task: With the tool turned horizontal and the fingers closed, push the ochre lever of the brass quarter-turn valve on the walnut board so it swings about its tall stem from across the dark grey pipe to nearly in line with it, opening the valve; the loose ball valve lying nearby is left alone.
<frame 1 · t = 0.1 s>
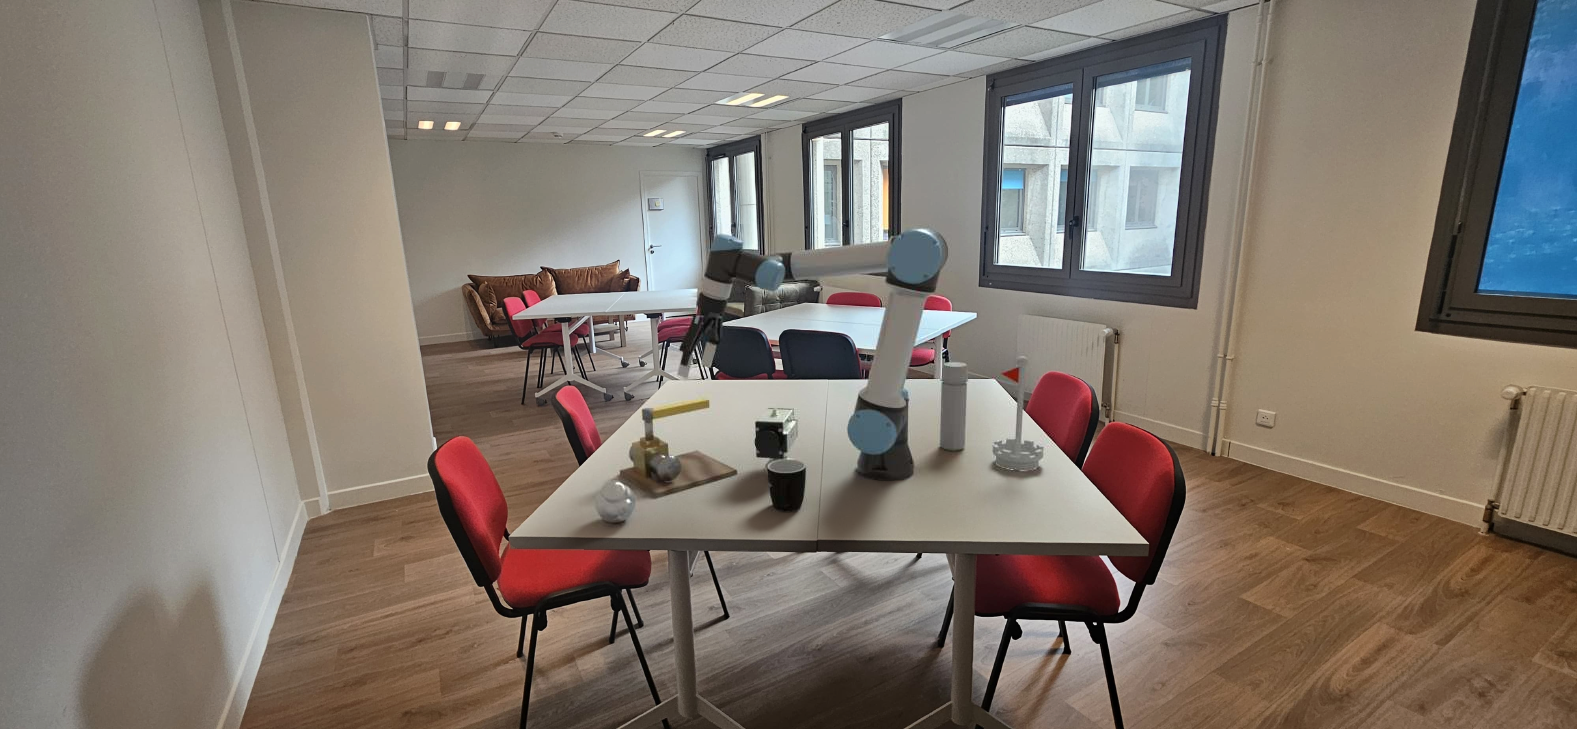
hand: (694, 370, 176), 28 cm above the table, tool tilted 20°, fingers open, 13 cm apart
water bottle: (952, 447, 196), on the table
mug: (786, 509, 155), on the table
walnut board: (652, 476, 177), on the table
valve lever: (675, 408, 179), point 17 cm above the table, hinge at 0.0°
round lidded jar: (616, 522, 150), on the table
flag stand: (1016, 464, 181), on the table
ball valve: (778, 473, 178), on the table
valve body: (653, 448, 174), on the walnut board, point 8 cm above the table
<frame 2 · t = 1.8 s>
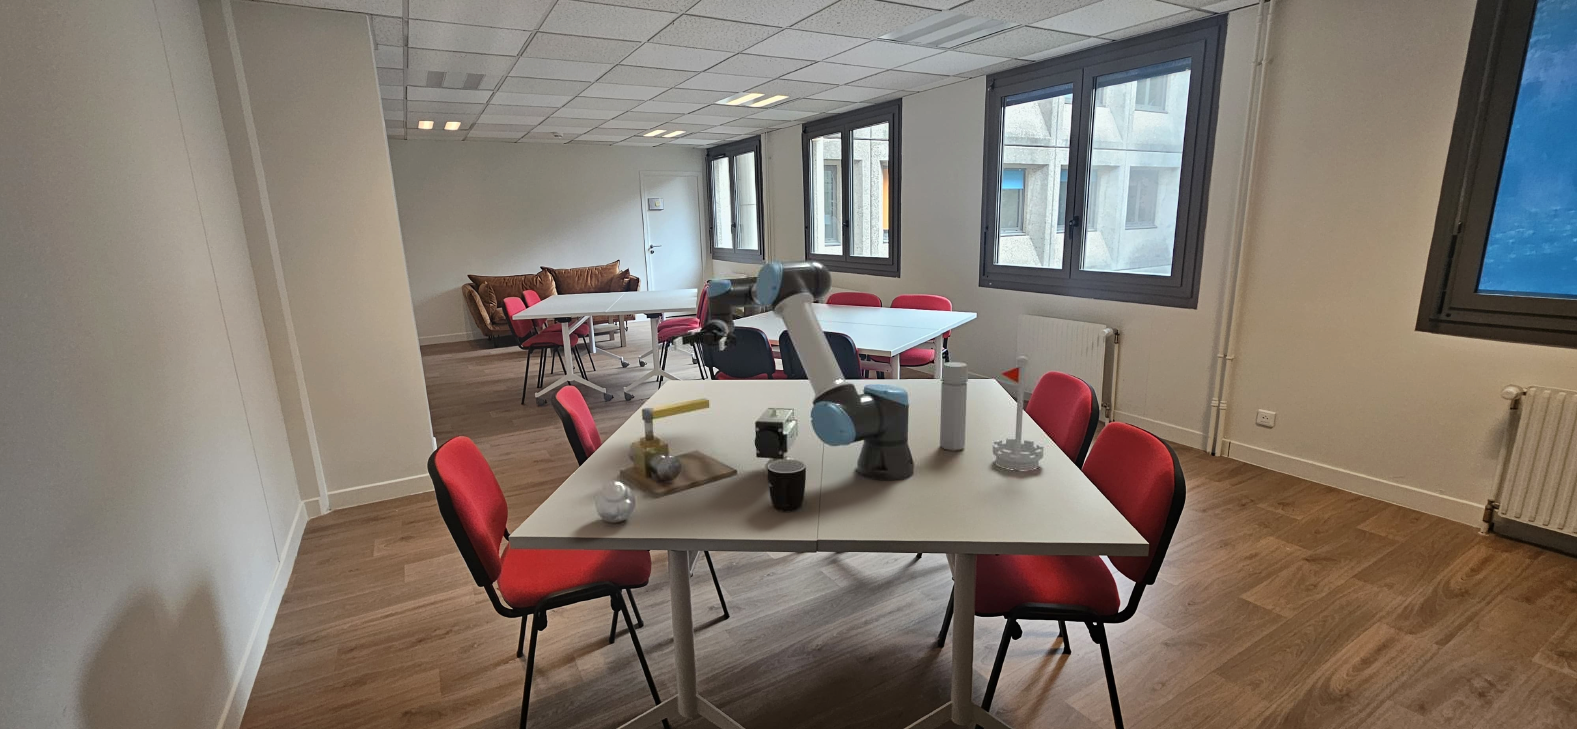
hand: (697, 345, 187), 32 cm above the table, tool horizontal, fingers open, 12 cm apart
nothing on the table moved.
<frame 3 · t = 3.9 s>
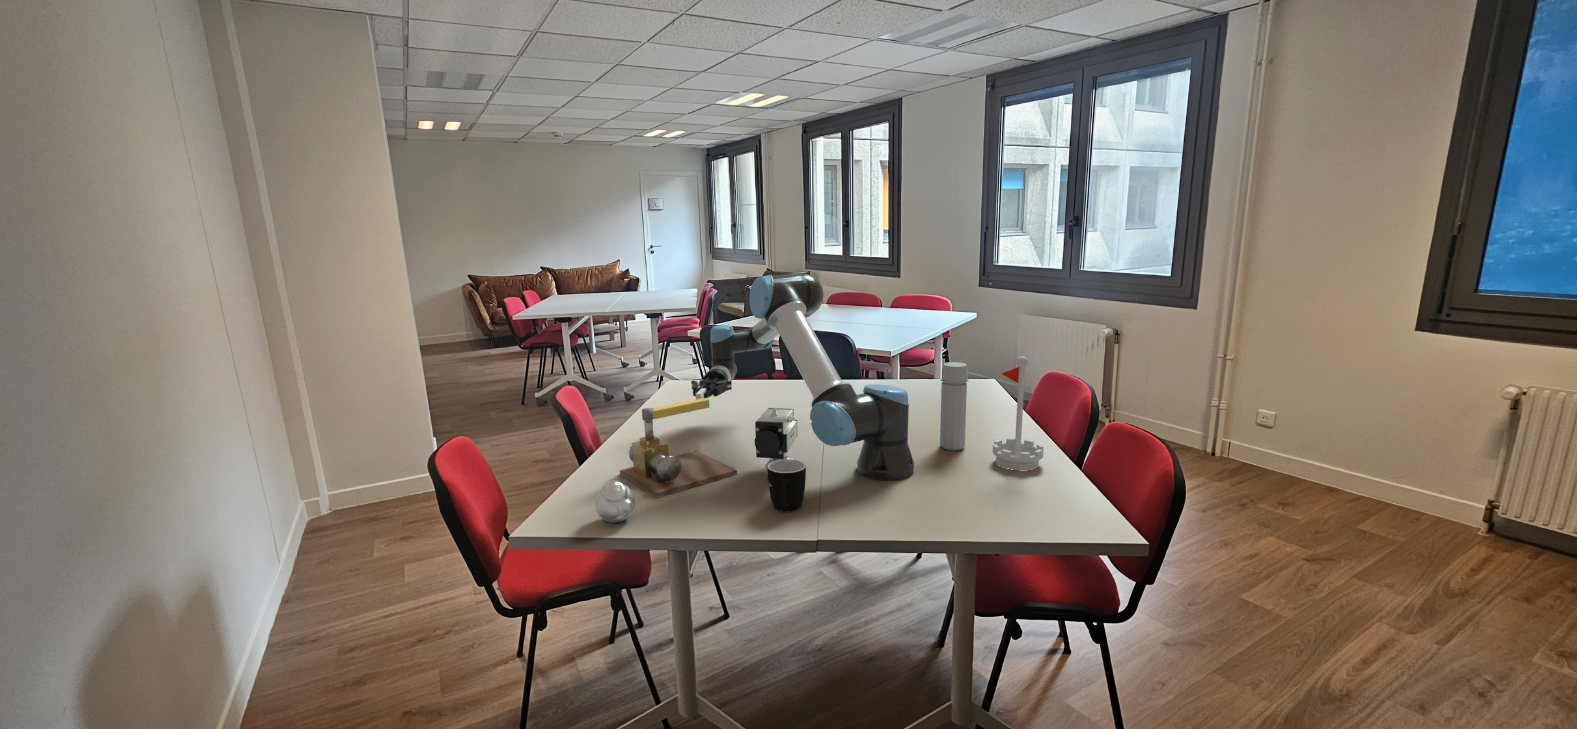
hand: (698, 398, 189), 17 cm above the table, tool horizontal, fingers closed
nothing on the table moved.
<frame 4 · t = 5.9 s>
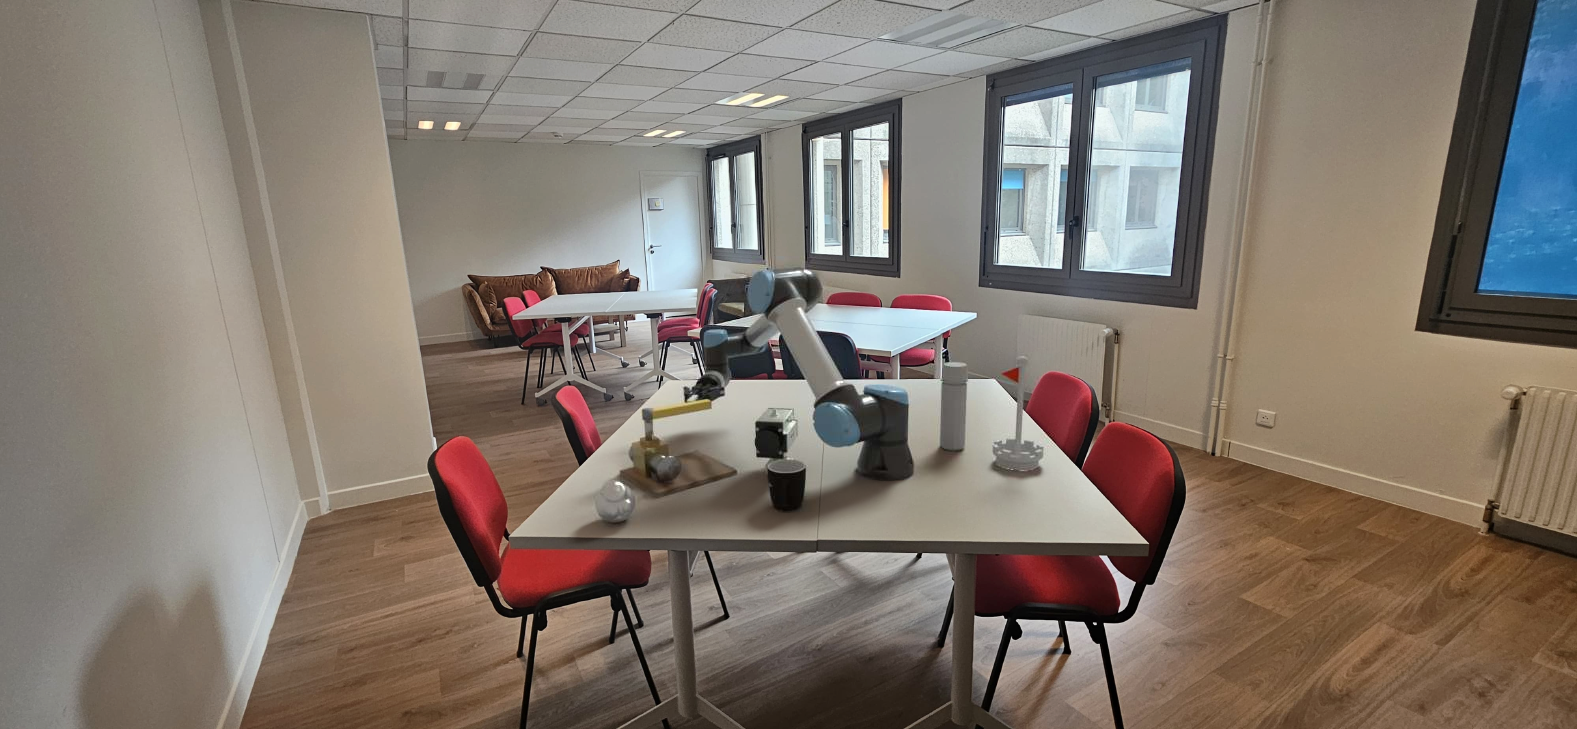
hand: (689, 405, 183), 17 cm above the table, tool horizontal, fingers closed
valve lever: (676, 409, 178), point 17 cm above the table, hinge at 4.7°, touching gripper
everything else where it was.
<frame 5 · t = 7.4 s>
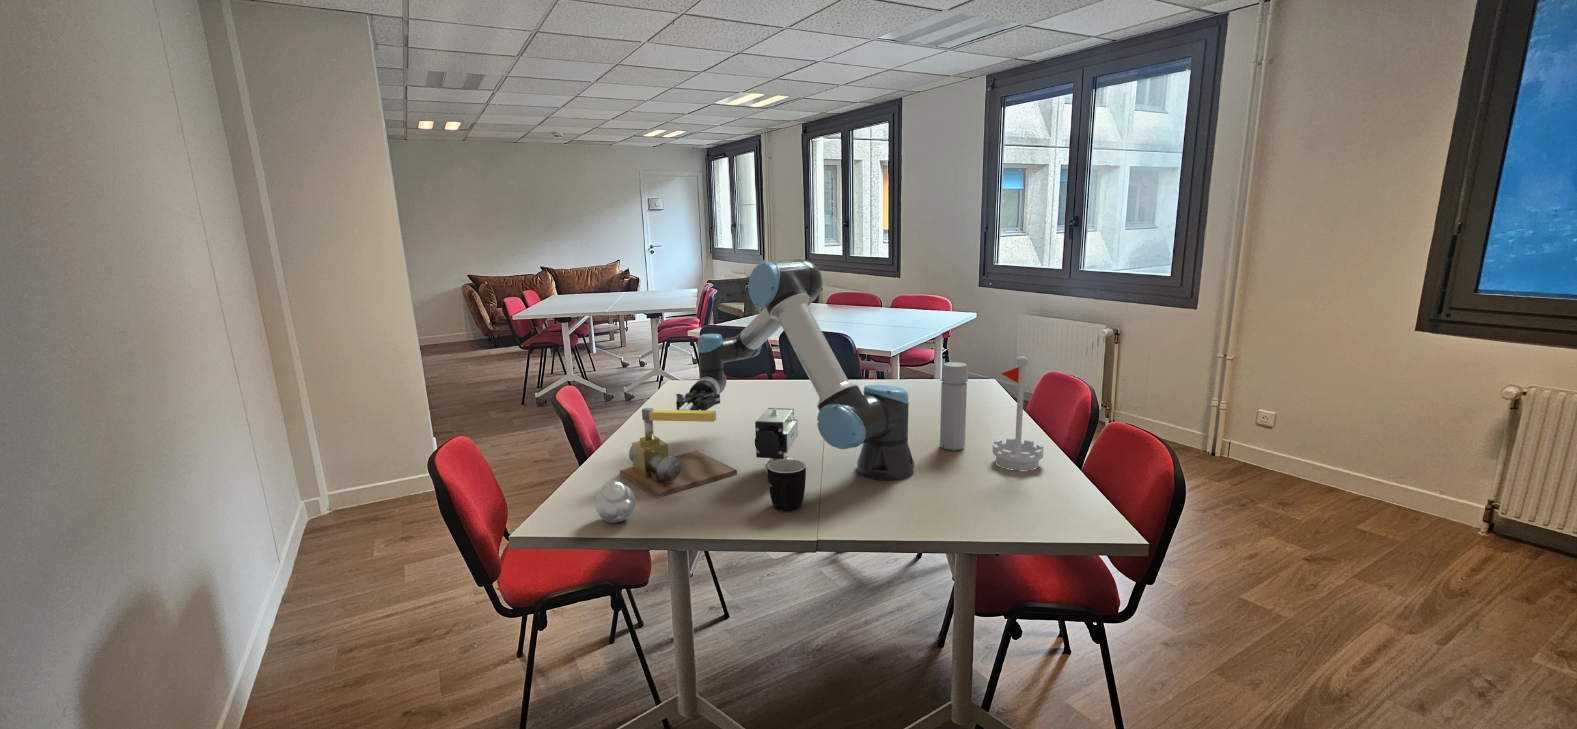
hand: (683, 414, 174), 17 cm above the table, tool horizontal, fingers closed
valve lever: (678, 414, 173), point 17 cm above the table, hinge at 46.1°, touching gripper
everything else where it was.
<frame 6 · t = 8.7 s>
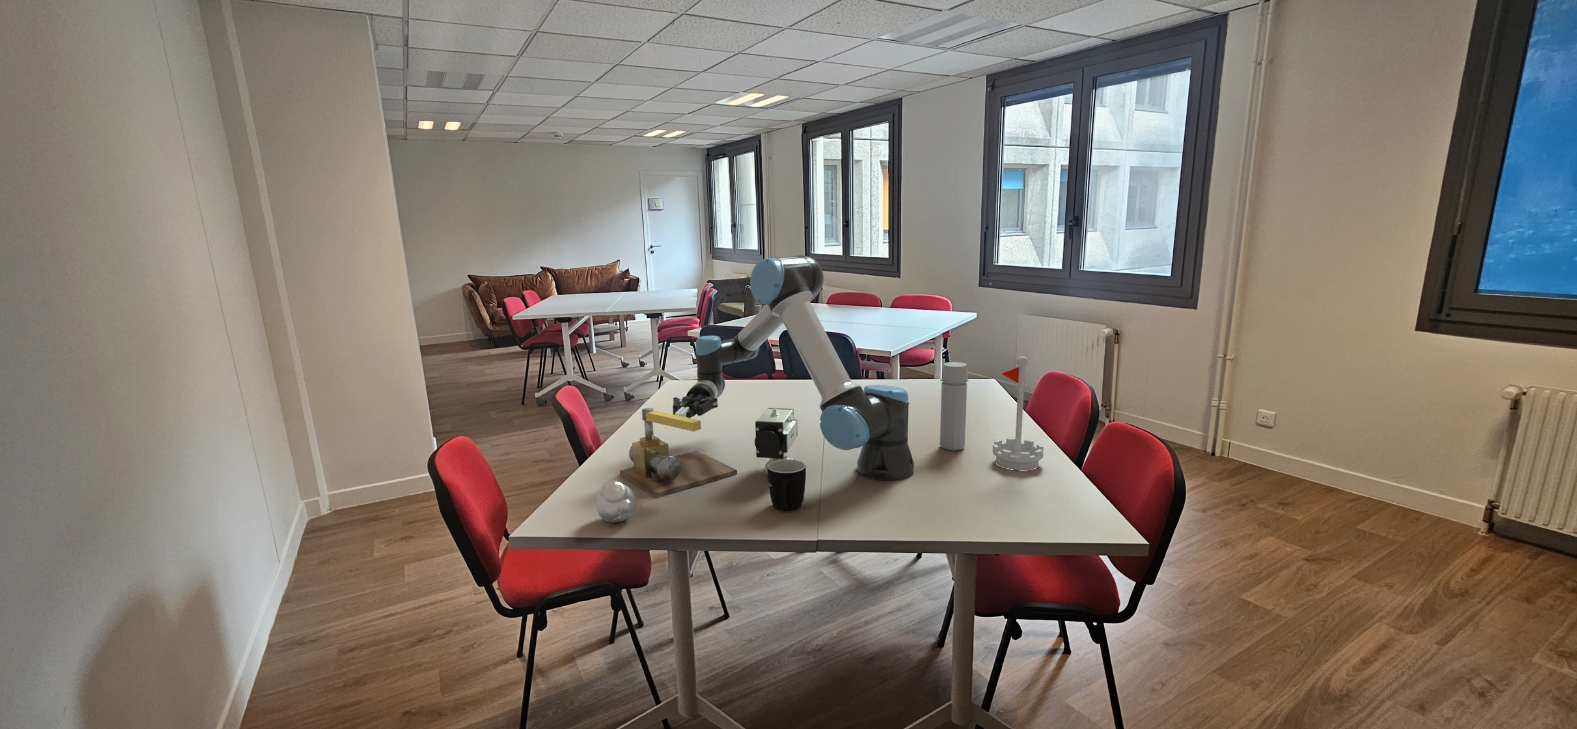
hand: (678, 418, 170), 17 cm above the table, tool horizontal, fingers closed
valve lever: (669, 419, 169), point 17 cm above the table, hinge at 75.2°, touching gripper
everything else where it was.
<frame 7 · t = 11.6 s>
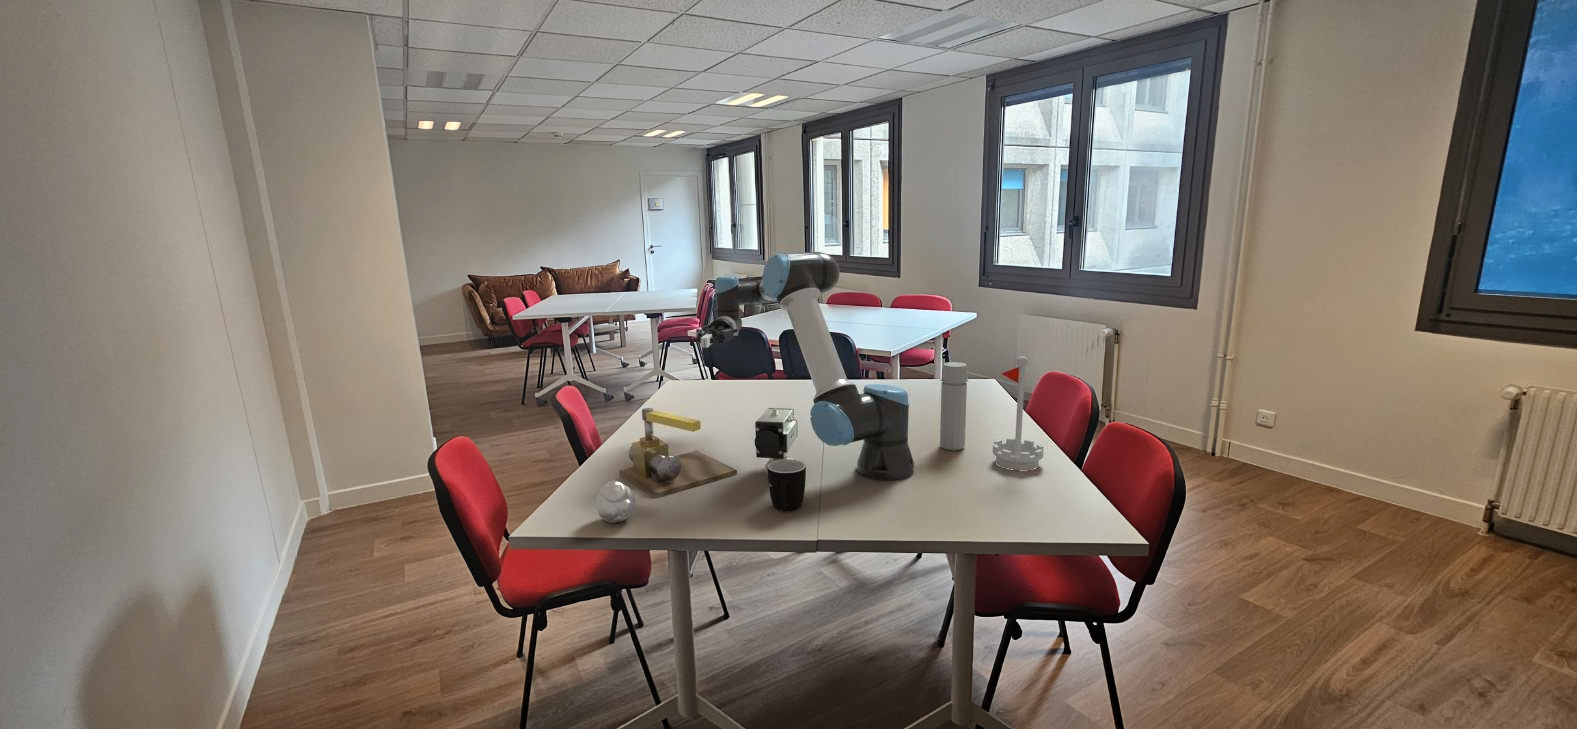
hand: (704, 342, 183), 34 cm above the table, tool horizontal, fingers closed
valve lever: (669, 419, 169), point 17 cm above the table, hinge at 75.7°
everything else where it was.
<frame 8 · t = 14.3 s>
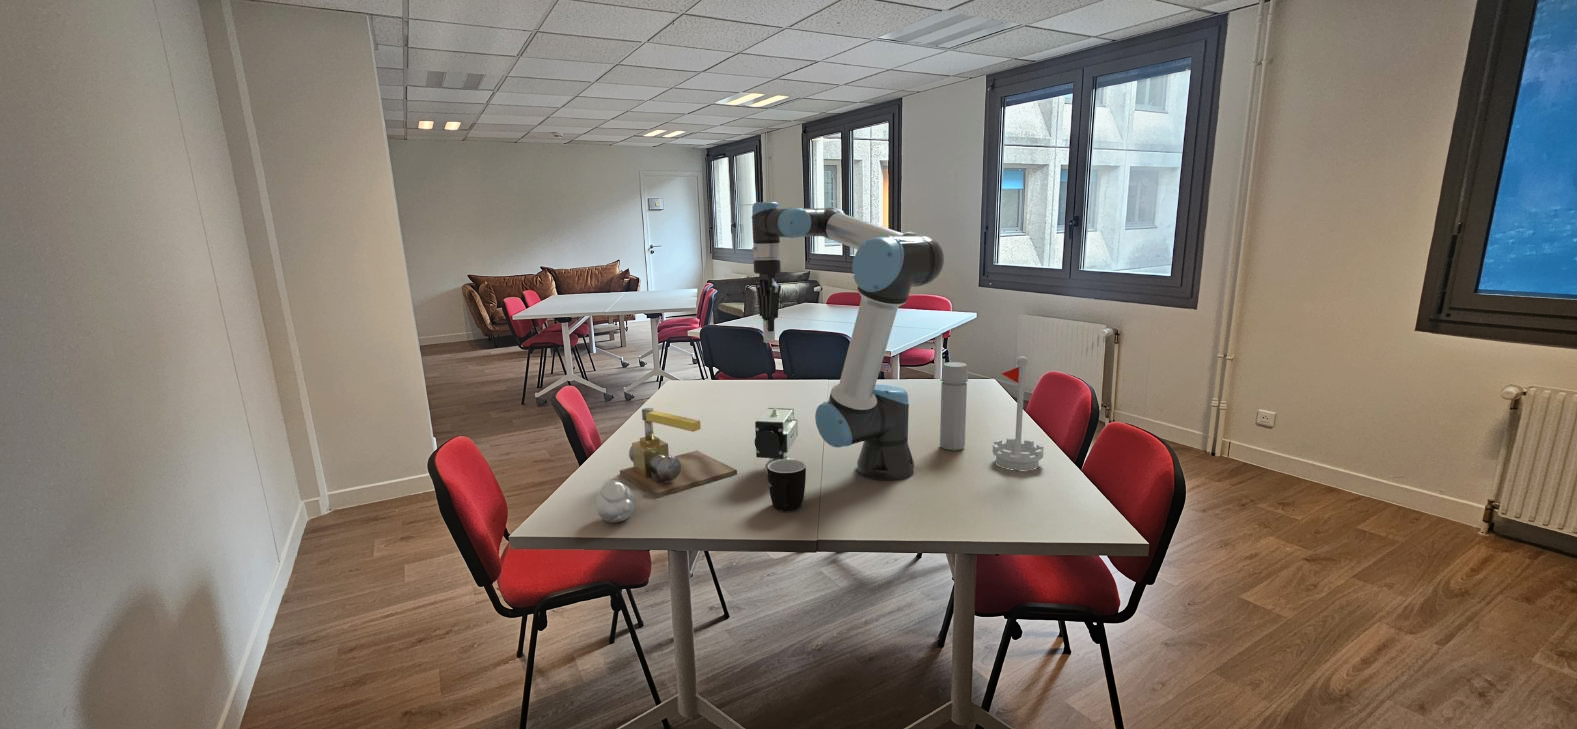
hand: (769, 342, 190), 32 cm above the table, tool pointing down, fingers closed
nothing on the table moved.
at the end: valve lever at +76° (first picture: +0°); the gripper is holding nothing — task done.
